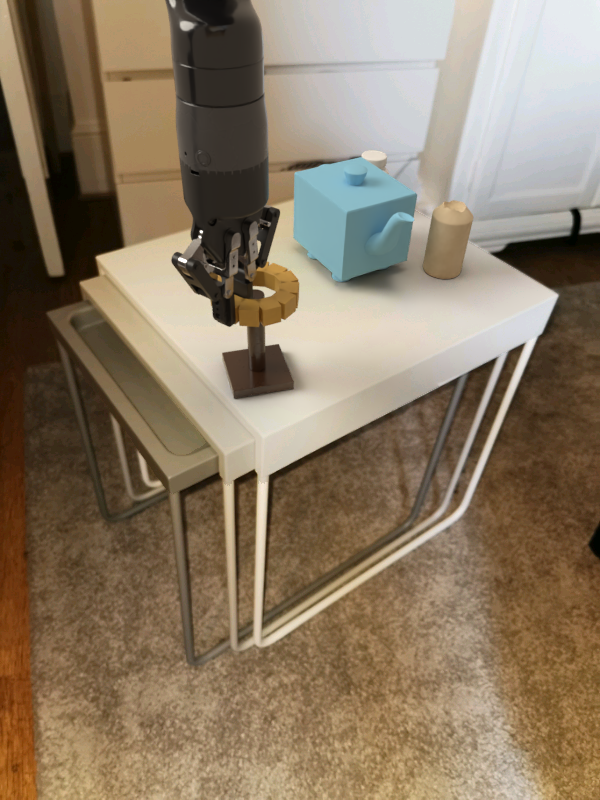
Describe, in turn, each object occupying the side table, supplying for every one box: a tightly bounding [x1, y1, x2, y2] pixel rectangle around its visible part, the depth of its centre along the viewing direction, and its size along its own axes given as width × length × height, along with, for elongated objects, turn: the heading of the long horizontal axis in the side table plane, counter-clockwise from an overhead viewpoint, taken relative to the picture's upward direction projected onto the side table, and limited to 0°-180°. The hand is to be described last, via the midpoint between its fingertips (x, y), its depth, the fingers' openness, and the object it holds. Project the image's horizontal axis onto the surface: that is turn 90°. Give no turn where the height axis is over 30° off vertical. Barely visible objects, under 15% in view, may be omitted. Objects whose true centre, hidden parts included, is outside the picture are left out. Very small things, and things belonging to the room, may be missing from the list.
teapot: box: [292, 156, 418, 283], centre depth 88 cm, size 22×11×14 cm, turn 30°
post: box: [221, 288, 295, 400], centre depth 71 cm, size 7×7×11 cm
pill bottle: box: [360, 149, 390, 175], centre depth 102 cm, size 5×5×9 cm
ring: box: [209, 261, 300, 327], centre depth 67 cm, size 9×9×2 cm
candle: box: [422, 199, 474, 280], centre depth 89 cm, size 6×6×10 cm
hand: (233, 315), depth 65 cm, fingers closed on ring, 2 cm apart
